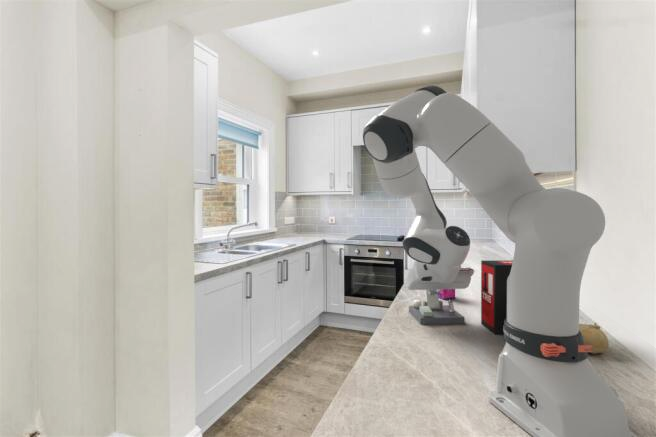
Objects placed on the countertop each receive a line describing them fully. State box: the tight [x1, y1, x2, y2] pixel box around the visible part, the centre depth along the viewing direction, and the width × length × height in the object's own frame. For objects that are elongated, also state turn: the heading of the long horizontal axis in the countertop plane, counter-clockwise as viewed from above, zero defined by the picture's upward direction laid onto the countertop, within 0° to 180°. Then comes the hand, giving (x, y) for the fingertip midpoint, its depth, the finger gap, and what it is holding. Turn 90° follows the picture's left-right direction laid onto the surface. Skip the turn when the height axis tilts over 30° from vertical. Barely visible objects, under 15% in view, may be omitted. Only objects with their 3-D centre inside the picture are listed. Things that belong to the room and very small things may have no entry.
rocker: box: [419, 305, 432, 316], centre depth 103 cm, size 4×3×1 cm
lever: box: [424, 290, 440, 309], centre depth 111 cm, size 2×4×12 cm, turn 92°
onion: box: [579, 322, 610, 355], centre depth 81 cm, size 8×8×7 cm
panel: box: [408, 300, 466, 325], centre depth 107 cm, size 13×14×5 cm
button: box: [412, 299, 423, 308], centre depth 111 cm, size 3×3×2 cm
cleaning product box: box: [480, 259, 513, 336], centre depth 95 cm, size 16×9×20 cm, turn 88°
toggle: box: [448, 299, 457, 313], centre depth 105 cm, size 1×2×4 cm, turn 92°
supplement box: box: [438, 289, 456, 301], centre depth 131 cm, size 6×6×12 cm
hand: (432, 292), depth 109 cm, fingers closed, pressing on lever
